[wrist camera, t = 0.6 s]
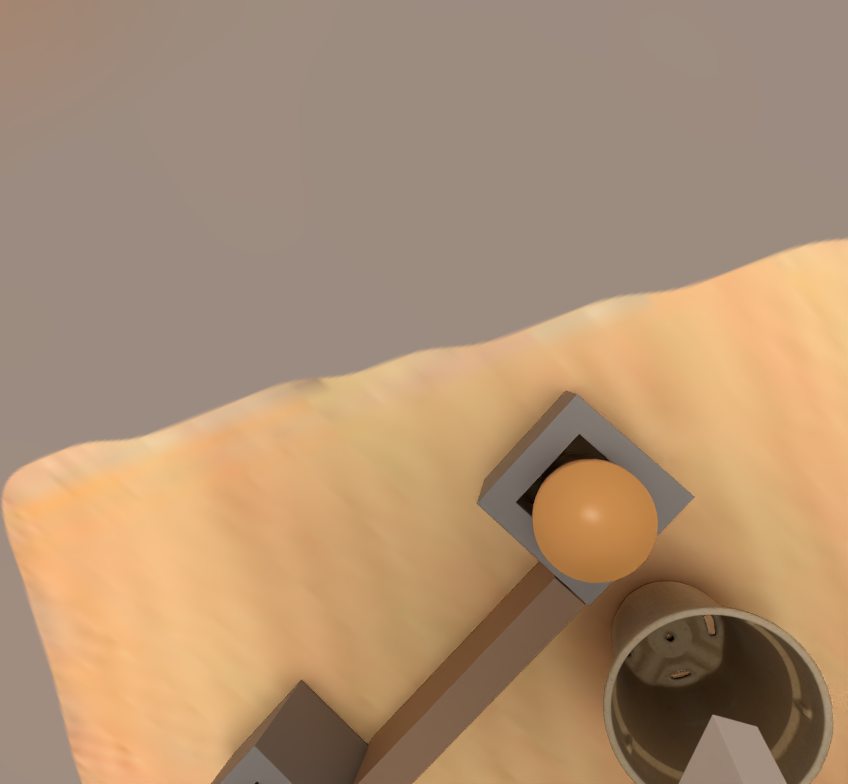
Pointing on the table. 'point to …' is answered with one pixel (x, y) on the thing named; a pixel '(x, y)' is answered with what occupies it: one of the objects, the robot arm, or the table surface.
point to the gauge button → (593, 519)
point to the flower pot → (708, 685)
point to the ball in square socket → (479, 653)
